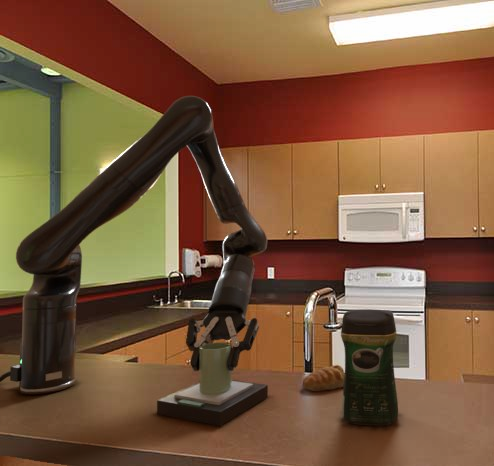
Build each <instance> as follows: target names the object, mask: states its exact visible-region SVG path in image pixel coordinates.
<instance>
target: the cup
mask: <svg viewBox="0 0 494 466" xmlns="http://www.w3.org/2000/svg"><path fill="white" fill-rule="evenodd" d="M231 348H233V344H232V343H230V342H224V341H223V342H222V341H221V342H218V341H217V342H213V343H209V344H205V345H202V346H200V347H199V371H198V383H199V392H200V393H203V394H219V393H223V392H226V391H228V390H230V389H231V388H232V380H233V371H229V370H228V367H227V363H228V358H229V354H230V351H231Z"/></svg>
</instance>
